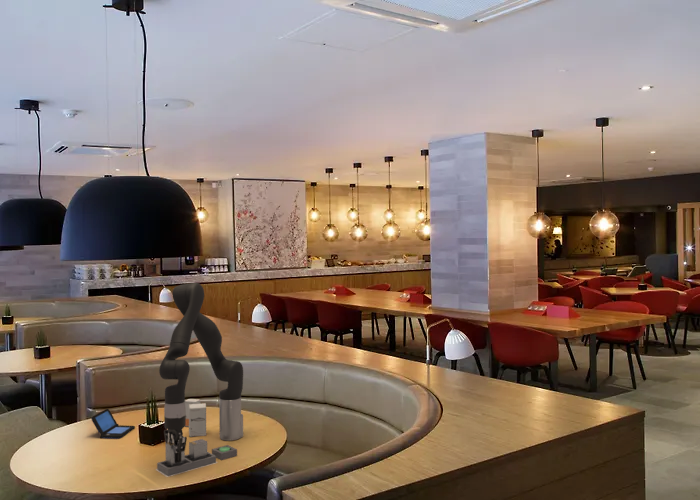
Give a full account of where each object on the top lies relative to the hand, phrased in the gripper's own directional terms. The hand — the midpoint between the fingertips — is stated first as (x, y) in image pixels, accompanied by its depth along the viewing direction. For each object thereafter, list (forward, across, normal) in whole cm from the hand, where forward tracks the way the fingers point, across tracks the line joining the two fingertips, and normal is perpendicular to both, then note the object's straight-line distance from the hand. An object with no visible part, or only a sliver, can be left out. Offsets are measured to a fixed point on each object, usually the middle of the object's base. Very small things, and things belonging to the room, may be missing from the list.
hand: (175, 460), depth 224 cm
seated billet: (+3, 0, +9) cm, 10 cm away
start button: (+3, 0, +21) cm, 21 cm away
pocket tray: (+4, 0, +5) cm, 6 cm away
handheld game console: (+5, -61, +1) cm, 61 cm away
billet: (+1, 0, 0) cm, 1 cm away
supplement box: (+5, -34, +28) cm, 44 cm away
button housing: (+4, 0, +21) cm, 21 cm away
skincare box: (+5, -46, +32) cm, 56 cm away
